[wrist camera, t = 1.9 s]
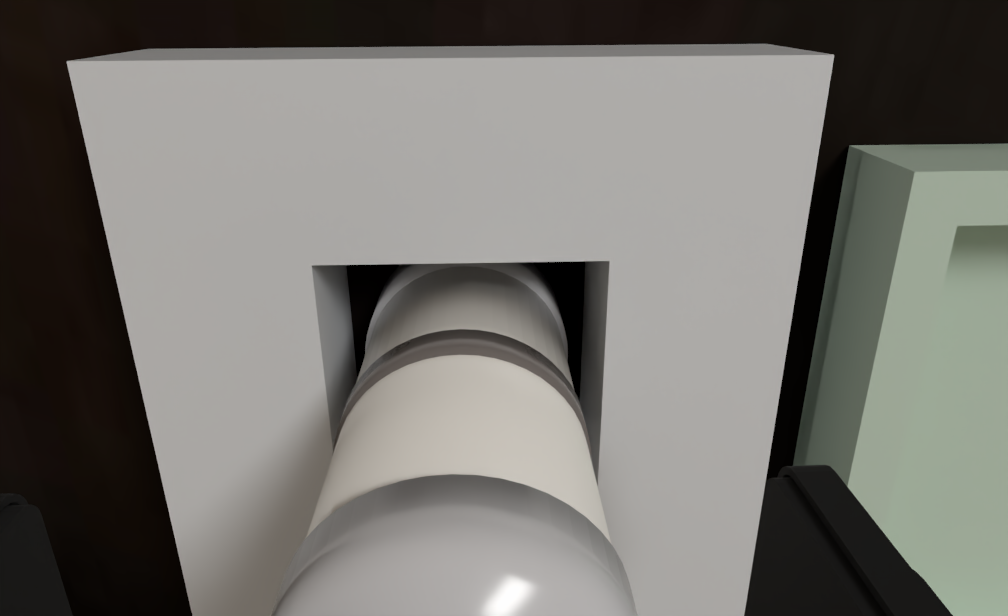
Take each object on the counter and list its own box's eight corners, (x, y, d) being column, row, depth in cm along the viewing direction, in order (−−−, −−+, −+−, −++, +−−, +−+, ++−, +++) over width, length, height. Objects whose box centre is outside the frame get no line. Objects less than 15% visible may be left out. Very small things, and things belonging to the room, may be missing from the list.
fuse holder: (766, 43, 14) (833, 55, 12) (705, 533, 19) (742, 624, 16) (147, 49, 14) (66, 60, 11) (239, 544, 19) (197, 639, 16)
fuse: (563, 237, 16) (677, 568, 7) (558, 405, 17) (646, 861, 8) (367, 239, 16) (207, 580, 6) (381, 410, 17) (270, 874, 8)
